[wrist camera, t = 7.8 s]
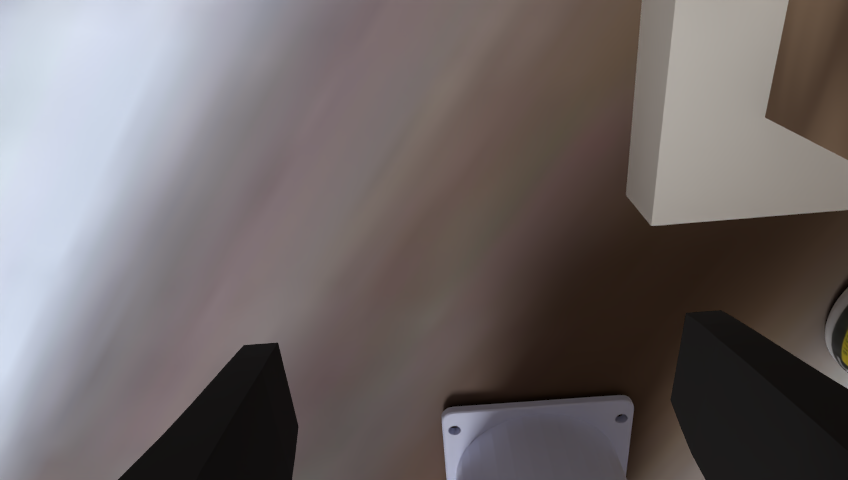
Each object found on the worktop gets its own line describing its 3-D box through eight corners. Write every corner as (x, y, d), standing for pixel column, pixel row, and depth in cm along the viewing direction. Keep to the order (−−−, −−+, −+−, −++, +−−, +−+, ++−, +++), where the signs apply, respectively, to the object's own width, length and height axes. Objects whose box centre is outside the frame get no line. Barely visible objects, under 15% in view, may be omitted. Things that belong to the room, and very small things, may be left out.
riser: (904, 165, 21) (978, 199, 18) (620, 189, 21) (651, 225, 18) (1013, -179, 16) (1134, -202, 13) (647, -143, 16) (692, -158, 14)
